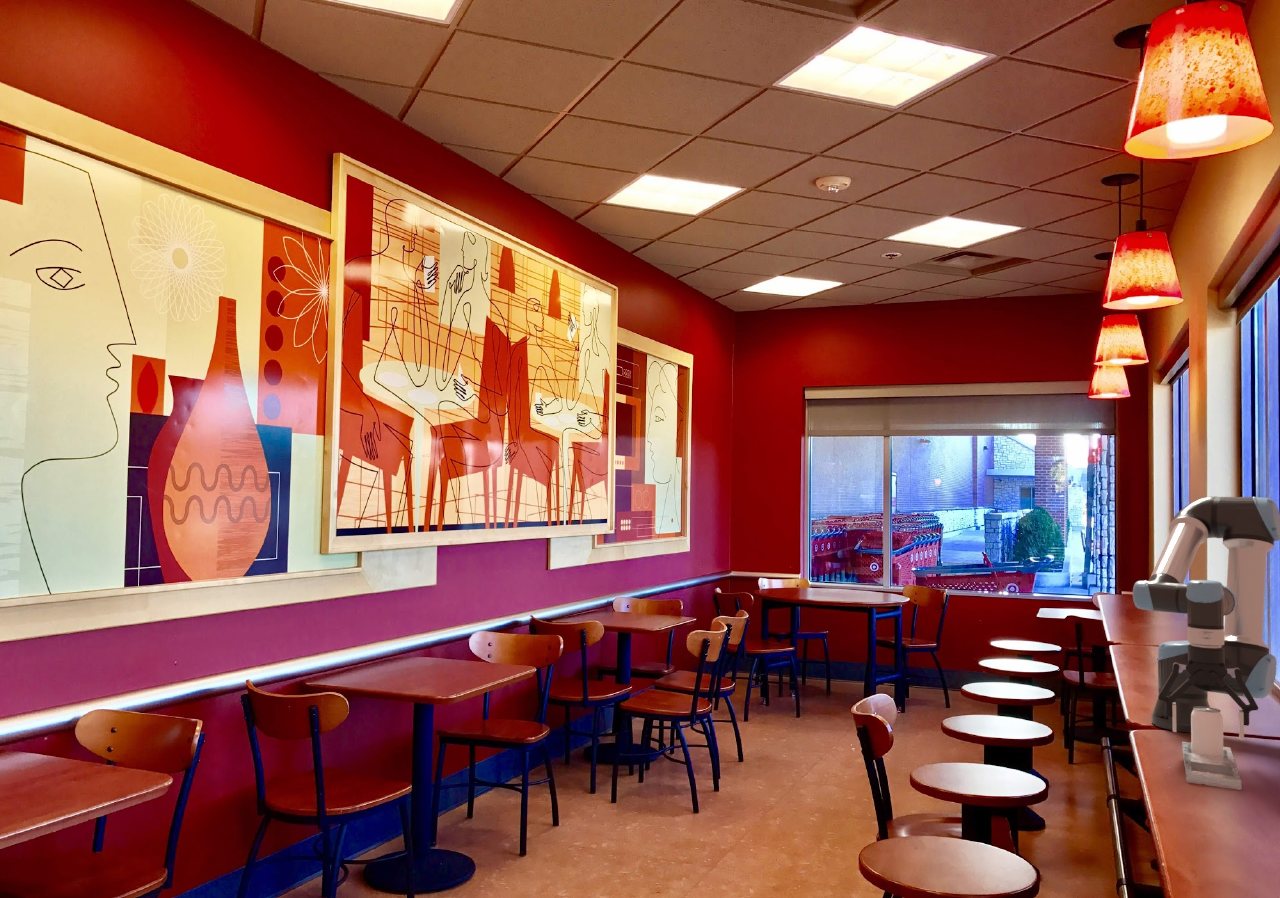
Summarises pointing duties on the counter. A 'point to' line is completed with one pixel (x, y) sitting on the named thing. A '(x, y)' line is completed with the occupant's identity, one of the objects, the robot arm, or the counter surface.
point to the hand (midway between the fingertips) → (1207, 734)
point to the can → (1207, 731)
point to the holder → (1211, 768)
